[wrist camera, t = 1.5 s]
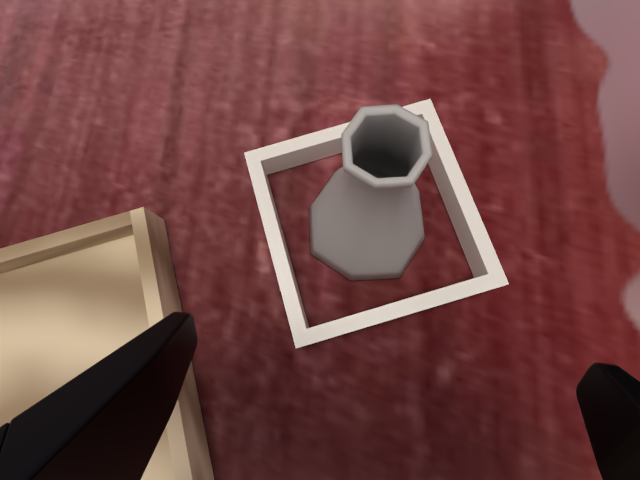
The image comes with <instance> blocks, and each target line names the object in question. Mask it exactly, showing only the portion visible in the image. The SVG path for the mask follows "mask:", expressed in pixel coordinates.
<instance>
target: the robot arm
mask: <svg viewBox="0 0 640 480" xmlns="http://www.w3.org/2000/svg"><path fill="white" fill-rule="evenodd" d="M196 345H197V334H196V328H195V323H194V318H193V316H192V314H190V313H185V312H173V313H171V314H169V315H168V316H166V317H165V318H163V319H162V320H160V321H159V322H157V323H156V324H154V325H153V326H151V327H150V328H148V329H147V330H145V331H144V332H142V333H141V334H139V335H138V336H136V337H135V338H133V339H132V340H130V341H129V342H127V343H126V344H124V345H123V346H121V347H120V348H118V349H117V350H115V351H114V352H112V353H111V354H109V355H108V356H106V357H105V358H103V359H102V360H100V361H99V362H97V363H96V364H94V365H93V366H91V367H90V368H88V369H87V370H85V371H84V372H82V373H81V374H79V375H78V376H76V377H75V378H73V379H72V380H70V381H69V382H67V383H66V384H64V385H63V386H61V387H60V388H58V389H57V390H55V391H54V392H52V393H51V394H49V395H48V396H46V397H45V398H43V399H42V400H40V401H39V402H37V403H35V404H34V405H32V406H31V407H29V408H28V409H26V410H25V411H23V412H22V413H20V414H19V415H17V416H16V417H14V418H13V419H12V420H11V422H10V423H5V424H4V425H2V426H1V427H0V480H141V478H142V476H143V474H144V472H145V469H146V467H147V465H148V463H149V461H150V459H151V457H152V455H153V453H154V451H155V448H156V446H157V444H158V442H159V440H160V438H161V436H162V434H163V432H164V430H165V427H166V425H167V423H168V421H169V419H170V417H171V415H172V412H173V410H174V408H175V405H176V402H177V400H178V397H179V394H180V391H181V389H182V386H183V383H184V380H185V377H186V374H187V372H188V369H189V366H190V363H191V360H192V357H193V355H194V352H195V349H196ZM576 394H577V399H578V402H579V406H580V409H581V412H582V416H583V419H584V422H585V426H586V429H587V432H588V436H589V439H590V442H591V446H592V449H593V452H594V456H595V459H596V462H597V465H598V468H599V471H600V473H601V476H602V478H603V480H640V382H639V381H638V380H637V379H635V378H634V377H633V376H631V375H630V374H628V373H627V372H626V371H624V370H623V369H622V368H620V367H619V366H617V365H614V364H606V363H598V362H597V363H594V364H592V365H591V366H590V367H589V369H588V370H587V372H586V373H585V375H584V376H583V377H582V379H581V380H580V382H579V383H578V385H577V389H576Z"/></svg>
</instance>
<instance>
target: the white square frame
mask: <svg viewBox="0 0 640 480" xmlns="http://www.w3.org/2000/svg"><path fill="white" fill-rule="evenodd" d="M403 108H405V109H406V110H408V111H410V112H412V113H414V114H416V115H417V116H419V117H421V118H423V119H425V120H426V121H428V123H429V131H430V139H431V146H432V154H433V155H432V157H431V159H430V160H429V162H428V165H429V167H430V170H431V172H432V175H433V177H434V180H435V182H436V185H437V187H438V190H439V192H440V194H441V197H442V199H443V202H444V204H445V207H446V209H447V212H448V214H449V217H450V219H451V222H452V224H453V227H454V229H455V232H456V234H457V237H458V239H459V242H460V244H461V247H462V249H463V252H464V254H465V257H466V259H467V262H468V264H469V267H470V269H471V272H472V274H473V277H474V278H473V279H470V280H467V281H463V282H460V283H457V284H454V285H450V286H447V287H444V288H440V289H437V290H434V291H430V292H427V293H424V294H420V295H417V296H414V297H410V298H407V299H404V300H400V301H397V302H394V303H390V304H387V305H384V306H381V307H377V308H374V309H371V310H367V311H364V312H361V313H357V314H354V315H351V316H347V317H344V318H341V319H337V320H334V321H331V322H327V323H324V324H321V325H317V326H314V327H311V328H309V325H308V321H307V318H306V314H305V311H304V307H303V303H302V300H301V296H300V293H299V289H298V285H297V282H296V278H295V274H294V271H293V267H292V264H291V260H290V256H289V253H288V249H287V246H286V242H285V238H284V235H283V231H282V227H281V224H280V220H279V217H278V213H277V209H276V206H275V202H274V199H273V195H272V191H271V188H270V184H269V180H268V177H267V175H268V174H271V173H275V172H278V171H282V170H285V169H289V168H292V167H295V166H299V165H302V164H306V163H309V162H313V161H316V160H319V159H323V158H326V157H330V156H333V155H337V154H340V153H342V142H341V134H342V133H343V131H344V130H345V128H346V127H347V126H348V124H349V123H350V122H348V123H345V124H342V125H338V126H335V127H331V128H328V129H324V130H321V131H317V132H314V133H311V134H307V135H304V136H300V137H297V138H293V139H290V140H286V141H283V142H280V143H276V144H273V145H269V146H266V147H262V148H259V149H255V150H252V151H249V152H245V153H244V154H245V158H246V162H247V165H248V169H249V173H250V177H251V181H252V184H253V188H254V192H255V196H256V200H257V203H258V207H259V211H260V215H261V218H262V222H263V226H264V230H265V234H266V237H267V241H268V245H269V249H270V253H271V256H272V260H273V264H274V268H275V272H276V275H277V279H278V283H279V287H280V290H281V294H282V298H283V302H284V306H285V309H286V313H287V317H288V321H289V325H290V328H291V332H292V336H293V340H294V344H295V347H296V348H300V347H303V346H306V345H309V344H313V343H316V342H319V341H323V340H326V339H329V338H333V337H336V336H339V335H343V334H346V333H349V332H352V331H356V330H359V329H362V328H366V327H369V326H372V325H376V324H379V323H382V322H386V321H389V320H392V319H395V318H399V317H402V316H405V315H409V314H412V313H415V312H419V311H422V310H425V309H429V308H432V307H435V306H438V305H442V304H445V303H448V302H452V301H455V300H458V299H462V298H465V297H468V296H472V295H475V294H478V293H481V292H485V291H488V290H491V289H495V288H498V287H501V286H505V285H508V284H509V283H508V281H507V278H506V276H505V274H504V271H503V269H502V267H501V264H500V262H499V260H498V257H497V255H496V253H495V250H494V248H493V245H492V243H491V241H490V238H489V236H488V234H487V231H486V229H485V227H484V224H483V222H482V219H481V217H480V215H479V212H478V210H477V208H476V205H475V203H474V201H473V198H472V196H471V194H470V191H469V189H468V186H467V184H466V182H465V179H464V177H463V175H462V172H461V170H460V168H459V165H458V163H457V161H456V158H455V156H454V153H453V151H452V149H451V146H450V144H449V142H448V139H447V137H446V135H445V132H444V130H443V128H442V125H441V123H440V120H439V118H438V116H437V113H436V111H435V109H434V106H433V104H432V102H431V99H428V100H424V101H421V102H417V103H414V104H411V105H407V106H404V107H403Z"/></svg>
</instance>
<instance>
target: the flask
mask: <svg viewBox="0 0 640 480" xmlns="http://www.w3.org/2000/svg"><path fill="white" fill-rule="evenodd" d="M341 142H342V157H343V167H342V168H340V169H338V170H337V171H336V172H335V173H334V174H333V175H332V177H331V178H330V180H329V181H328V182H327V184H326V185H325V187H324V188H323V189H322V191H321V192H320V193H319V195H318V196H317V198H316V199H315V200H314V202H313V203H312V205H311V206H310V207H309V231H310V254H311V255H313V256H314V257H316V258H317V259H319V260H320V261H322V262H323V263H325V264H326V265H328V266H329V267H331V268H332V269H334V270H335V271H337V272H338V273H340V274H341V275H343V276H344V277H346V278H347V279H349V280H350V281H354V280H374V279H394V278H400V277H401V275H402V274H403V272H404V271H405V269H406V268H407V266H408V264H409V263H410V261H411V260H412V258H413V257H414V255H415V253H416V252H417V250H418V249H419V247H420V246H421V244H422V242H423V241H424V239H425V234H424V226H423V217H422V209H421V200H420V193H419V190H418V189H417V187H416V185H415V182H416V180H417V179H418V177H419V176H420V174H421V173H422V171H423V170H424V168H425V167H426V165H427V163H428V162H429V160H430V159H431V157H432V155H433V154H432V146H431V139H430V131H429V123H428V121H426V120H425V119H423V118H421V117H419V116H417V115H416V114H414V113H412V112H410V111H408V110H406V109H405V108H403V107H401V106H399V105H397V104H395V105H380V106H366V107H361V108H360V109H359V111H358V112H357V113H356V115H355V116H354V117H353V119H352V120H351V122H350V123H349V124H348V126H347V127H346V128H345V130H344V131H343V133H342V134H341Z"/></svg>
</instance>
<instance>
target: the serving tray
mask: <svg viewBox="0 0 640 480" xmlns="http://www.w3.org/2000/svg"><path fill="white" fill-rule="evenodd" d="M173 312H182V309H181V304H180V298H179V293H178V288H177V283H176V278H175V272H174V267H173V262H172V257H171V252H170V246H169V241H168V236H167V231H166V226H165V221H164V219H162V218H161V217H159V216H157V215H156V214H154V213H152V212H151V211H149V210H147V209H146V208H144V207H142V208H139V209H135V210H132V211H128V212H125V213H121V214H118V215H115V216H111V217H108V218H104V219H101V220H97V221H94V222H91V223H87V224H84V225H80V226H77V227H73V228H70V229H66V230H63V231H60V232H56V233H53V234H49V235H46V236H42V237H39V238H36V239H32V240H29V241H25V242H22V243H18V244H15V245H12V246H8V247H5V248H1V249H0V427H1V426H2V425H4V424H5V423H10V422H11V420H12V419H13V418H14V417H16V416H17V415H19V414H20V413H22V412H23V411H25V410H26V409H28V408H29V407H31V406H32V405H34V404H35V403H37V402H39V401H40V400H42V399H43V398H45V397H46V396H48V395H49V394H51V393H52V392H54V391H55V390H57V389H58V388H60V387H61V386H63V385H64V384H66V383H67V382H69V381H70V380H72V379H73V378H75V377H76V376H78V375H79V374H81V373H82V372H84V371H85V370H87V369H88V368H90V367H91V366H93V365H94V364H96V363H97V362H99V361H100V360H102V359H103V358H105V357H106V356H108V355H109V354H111V353H112V352H114V351H115V350H117V349H118V348H120V347H121V346H123V345H124V344H126V343H127V342H129V341H130V340H132V339H133V338H135V337H136V336H138V335H139V334H141V333H142V332H144V331H145V330H147V329H148V328H150V327H151V326H153V325H154V324H156V323H157V322H159V321H160V320H162V319H163V318H165V317H166V316H168V315H169V314H171V313H173ZM141 480H214V475H213V470H212V464H211V459H210V454H209V449H208V444H207V438H206V433H205V428H204V423H203V418H202V412H201V407H200V402H199V397H198V392H197V387H196V381H195V376H194V371H193V366H192V361H191V363H190V366H189V369H188V372H187V374H186V377H185V380H184V383H183V386H182V389H181V391H180V394H179V397H178V400H177V402H176V405H175V408H174V410H173V412H172V415H171V417H170V419H169V421H168V423H167V425H166V427H165V430H164V432H163V434H162V436H161V438H160V440H159V442H158V444H157V446H156V448H155V451H154V453H153V455H152V457H151V459H150V461H149V463H148V465H147V467H146V469H145V472H144V474H143V476H142V478H141Z"/></svg>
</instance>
